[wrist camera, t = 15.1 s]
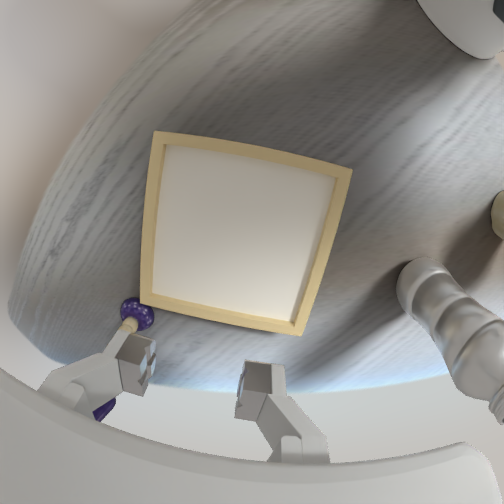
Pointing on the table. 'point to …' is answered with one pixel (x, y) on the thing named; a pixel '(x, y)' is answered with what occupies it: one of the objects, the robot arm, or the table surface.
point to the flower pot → (498, 215)
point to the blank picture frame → (237, 231)
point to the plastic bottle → (457, 330)
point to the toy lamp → (133, 320)
